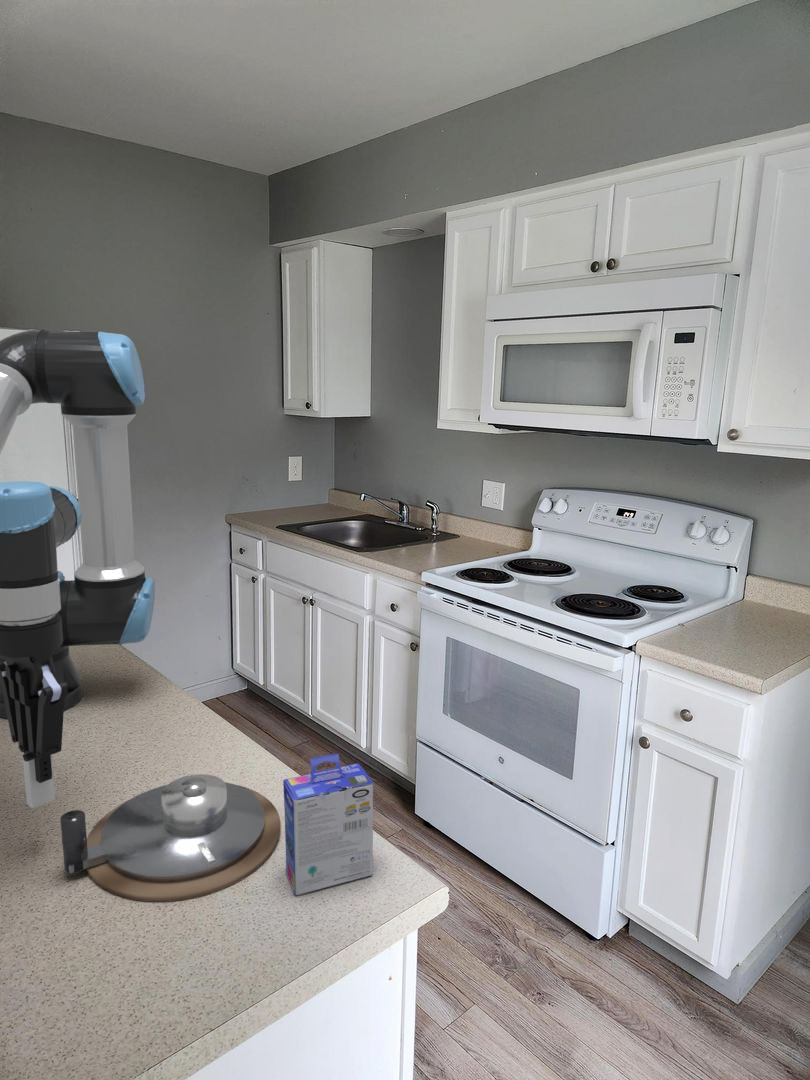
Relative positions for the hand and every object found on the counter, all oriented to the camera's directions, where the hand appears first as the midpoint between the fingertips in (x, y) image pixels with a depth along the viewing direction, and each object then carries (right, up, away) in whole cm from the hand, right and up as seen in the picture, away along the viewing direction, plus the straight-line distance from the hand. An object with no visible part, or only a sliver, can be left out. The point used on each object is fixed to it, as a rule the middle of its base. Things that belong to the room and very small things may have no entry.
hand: (40, 801), depth 89 cm
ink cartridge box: (+35, -8, -1) cm, 36 cm away
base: (+16, -6, +5) cm, 18 cm away
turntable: (+15, -5, +3) cm, 16 cm away
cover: (+18, -4, +5) cm, 19 cm away
